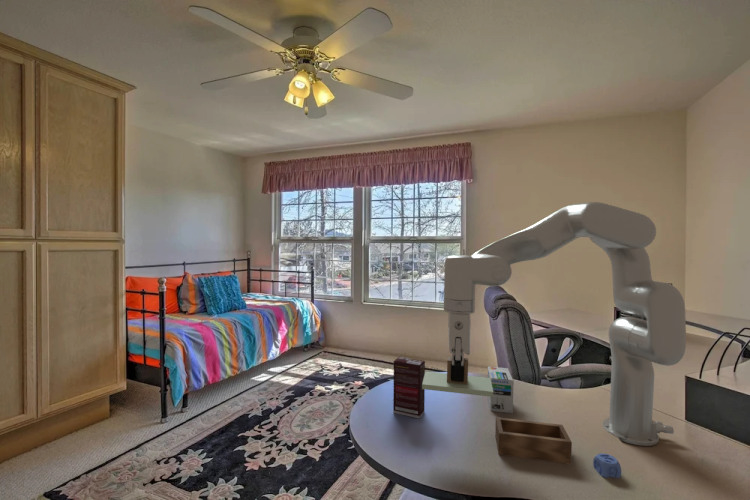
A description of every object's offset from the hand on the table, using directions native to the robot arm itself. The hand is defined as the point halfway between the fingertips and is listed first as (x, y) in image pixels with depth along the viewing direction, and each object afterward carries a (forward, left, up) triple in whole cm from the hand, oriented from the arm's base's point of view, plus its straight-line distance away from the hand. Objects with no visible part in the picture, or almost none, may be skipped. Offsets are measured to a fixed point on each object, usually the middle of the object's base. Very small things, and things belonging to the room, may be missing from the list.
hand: (457, 377), depth 93 cm
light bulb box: (-13, -26, -18) cm, 34 cm away
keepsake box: (-18, -2, -18) cm, 25 cm away
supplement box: (+14, -15, -18) cm, 27 cm away
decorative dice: (-33, +3, -18) cm, 38 cm away
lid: (0, 0, -2) cm, 2 cm away
